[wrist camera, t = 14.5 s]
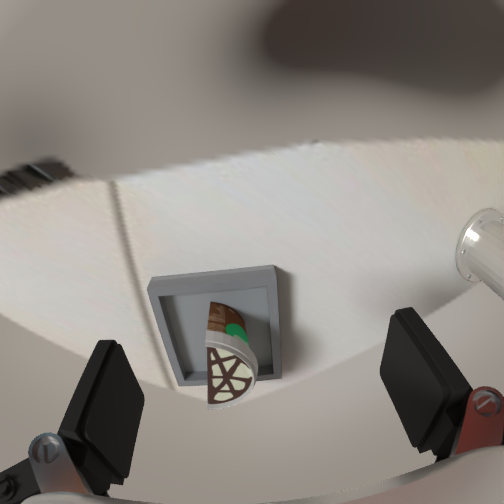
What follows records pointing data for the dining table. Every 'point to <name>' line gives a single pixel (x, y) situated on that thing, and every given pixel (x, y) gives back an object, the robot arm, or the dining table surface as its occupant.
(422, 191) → the dining table surface
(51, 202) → the dining table surface
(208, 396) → the food container
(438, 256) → the dining table surface
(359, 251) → the dining table surface
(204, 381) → the tray
